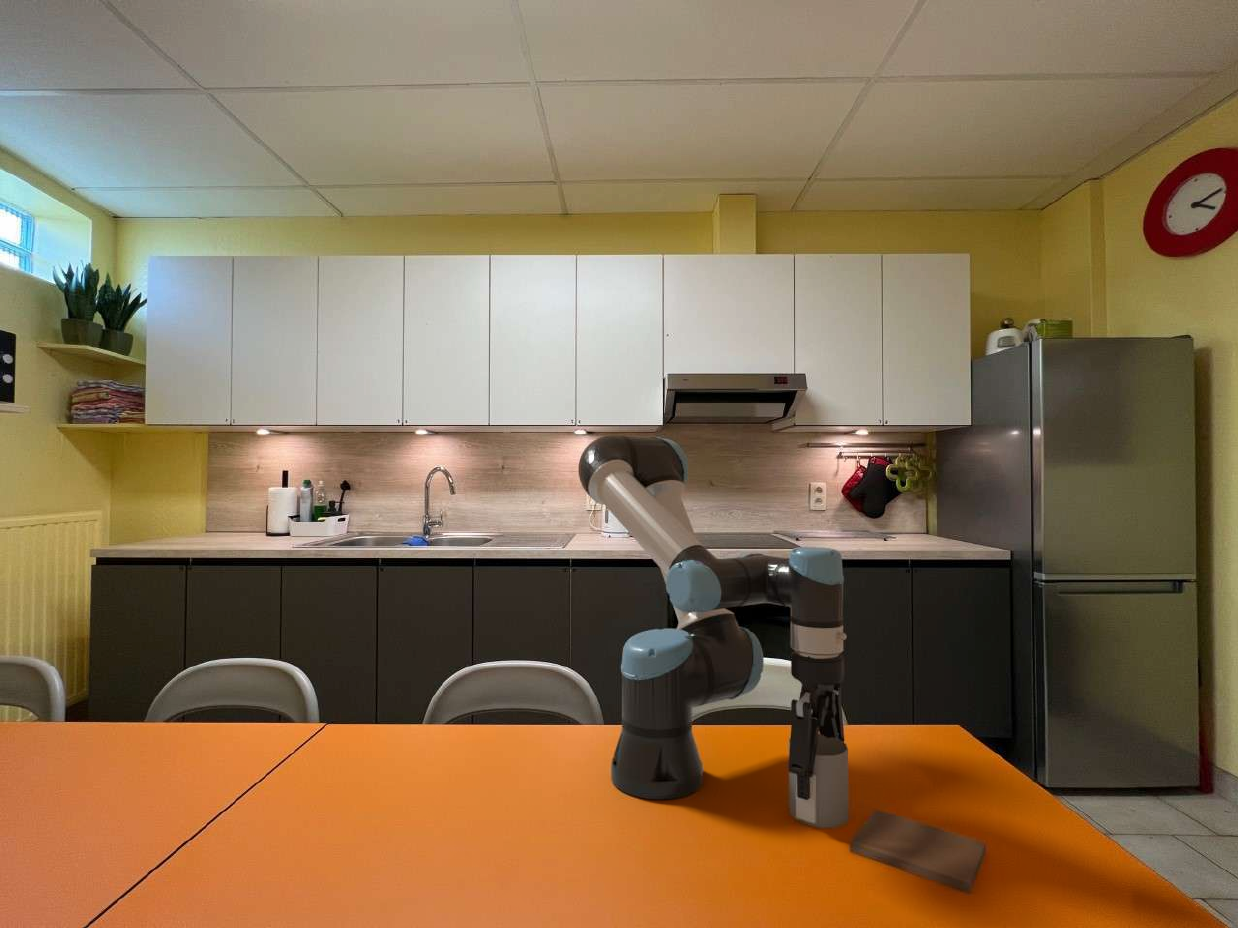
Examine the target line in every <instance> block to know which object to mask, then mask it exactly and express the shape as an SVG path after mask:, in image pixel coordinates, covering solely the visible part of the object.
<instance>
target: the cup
mask: <svg viewBox="0 0 1238 928" xmlns="http://www.w3.org/2000/svg"><path fill="white" fill-rule="evenodd" d="M789 752H790V738H788V753H789ZM813 774H816V818H817V822H816V823H815V824H814V823H811V822H808V821H805V820H802V819H799V818H796V774H794V773H791V772H789V771H788V801H789V803H788V804H789V805H788V807H789V813H790V815H792V817H793V818H794V819H795V820H797V821H799V822H800V823H803V824H805V825H808V826H811V827H815V828H821V829H830V828H831V829H836V828H838V826H839V827H842V826H844V825H846V823H847V822H848V821H849V819H850V817H849V816H850V815H849V814H850V812H849V802H850V801H849V798H850V797H849V796H850V795H849V748H848V746H847V743H845V741H844V742H842V741H841V740H839V739H837V738H833V737H831V738H826V737H825V736H824V735H821V734H820V733H819V736H818V742H817V749H816V756H815V763H814V770H813Z"/></svg>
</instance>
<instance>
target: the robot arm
mask: <svg viewBox="0 0 1238 928" xmlns="http://www.w3.org/2000/svg"><path fill="white" fill-rule="evenodd" d="M687 470H689V463H688V459H687V457H686V454H685V452H684V450H683V449H682V447H681V446H680V445H679V444H678V443H677V442H676V441H673V440H671V439H669V438H663V437H659V436H648V437H644V436H633V435H632V436H629V435H618V434H608V435H607V434H606V435H603V436H599V437H598V438H596V439H594V440H593V441H592V442H590V443H589V444H588V445H587V446H586V447H585V448H584V450H583V451H582V453H581V456H580V458H579V462H578V473H577V474H578V477H579V481H580V484H581V486H582V488H583V489H584V491H585V492H586V494H587V495H588V496H589V497H590V498H591V500H593V502H595V503H596V504H598V505H604V506H605V507H606V508H607V509H608V510H609V512H610V513H611V514H612V515H613V516H614V518H615V519H617V520H618V522H619V523H620V524H621V525H622V527H623V528H624V529H626V531H627V532H628V533H629V534H630V536H632V538H633V539H634V540H635V541H636V542H637V543H638V545H640V547H641V548H642V549H643V550H644V551H645V552H646V554H648V555H649V557H650V558H651V559H652V560H653V562H654V563H655V564H656V565H657V566H658V567H659V568H660V571H661V575H662V577H663V579H664V583H665V585H666V586H665V588H666V593H667V594H668V595H669V601H670V603H671V605H672V606H673V607H672V608H673V609H674V611H675V615H676V617H677V621H678V624H677V627H676V628H669V627H668V628H662V629H659V628H655V629H649V630H646V631H642V632H641V631H640V632H639V633H637V634H634V635H633V636H631V637H630V638H629V639H627V641H626V642H625V644H624V646H623V647H622V659H621V664H620V671H621V731H620V735H619V738H618V741H617V745H616V748H615V751H614V754H613V757H612V759H611V762H610V763H611V765H610V779H611V782H612V784H613V785H614V786H615V787H616V788H617V789H619V790H620V792H621V791H622V792H623V793H626V794H628V795H630V796H634V797H637V798H640V799H641V798H642V799H646V800H647V799H648V800H672V799H673V800H674V799H678V798H682V797H686V796H690V795H691V794H693V793H695V792H696V791H697V790H699V789H700V788H701V787H702V784H703V781H704V773H703V772H704V767H703V762H702V760H701V758H700V754H699V750H698V747H697V744H696V740H695V736H694V734H693V708H696V707H697V708H698V707H700V706H704V705H709V704H713V703H716V702H721V701H724V700H734V699H737V698H738V697H741V696H744V695H746V694H748V693H750V692H752V691H754V689H756V687H757V686H758V685H759V682H760V681H761V678H762V673H763V671H764V665H765V664H764V663H765V662H764V652H763V649H762V645H761V643H760V640H759V638H758V637H757V636H756V634H755V633H754V632H751V631H750V630H749V629H748V628H746V627H742V626H739V623H738V621H737V618H736V616H735V613H734V612H732V611H731V610H729V609H727V608H734V607H745V606H750V605H751V606H754V605H760V604H772V605H778V606H782V607H788V608H790V648H791V649H792V650H793V651H792V652H791V654H790V669H791V670H790V671H791V676H792V677H793V678H794V679H795V680H798V681H799V682H800V683H801V689H800V692H799V698H798V699H799V700H798V699H792V700H791V702H790V708H791V724H790V725H791V727H790V738H789V739H790V752H789V751H788V765H787V766H788V768H787V769H788V773H789V772H791V773H794V774H796V818H799V819H802V820H805V821H808V822H811V823H814V824H815V823H816V822H817V818H816V774H813V770H814V763H815V756H816V749H817V742H818V736H819V734H821V735H824V736H825V737H826V738H831V737H833V738H837V739H839V740H841V741H842V742H844V743H845V732H844V731H845V730H844V718H843V709H842V708H843V706H842V682H843V681H844V678H845V662H844V661H845V660H844V659H845V658H844V656H843V654H841V653H842V652H844V641H845V640H847V637H848V636H847V634H846V633H845V632H844V618H843V609H844V608H843V604H844V603H843V602H844V581H845V577H844V570H843V560H842V555H841V552H840V551H838V550H837V549H835V548H831V547H817V546H800V547H799V546H798V547H794V548H792V549H791V551H790V557H789V558H788V557H780V556H773V555H765V554H762V553H759V552H757V553H742V554H740V555H738V556H736V557H729V558H728V557H727V558H726V557H725V558H717V557H715V556H714V555H713V554H712V553H711V552H710V550H708V549H707V548H706V547H705V546H704V545H703V544H702V543H701V542H700V541H699V540H698V539H697V536H696V534H695V531H694V527H692V526H693V525H692V523H691V521H690V518H689V515H688V513H687V510H686V507H685V504H684V502H683V499H682V496H683V494H684V493H685V490H686V487H685V484H686V482H687V480H688V476H689V473H688V472H687ZM796 818H795V819H796Z"/></svg>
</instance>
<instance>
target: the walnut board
mask: <svg viewBox="0 0 1238 928" xmlns="http://www.w3.org/2000/svg"><path fill="white" fill-rule="evenodd" d="M849 847H850V848H849V849H850V850H849V851H850V852H853V853H854V854H857V855H860V856H863V857H866V858H868V859H872V860H875V861H877V862H880V863H883V864H886V865H887V866H888V865H889V866H891V867H894V868H897V869H900V870H903V871H905V872H907V873H911V874H913V875H915V876H916V875H917V876H919V877H922V878H924V879H927V880H930V881H933V882H936V883H939V884H941V885H944V886H947V887H950V888H952V889H955V890H959V891H960V892H964V893H966V894H971V891H972V889H973V886H974V884H975V882H976V878H977V876H978V874H979V870H980V868H981V866H982V864H983V861H984V857H985V855H986V852H987V851H986V850H987V849H986V848H987V847H986V842H984V841H980V840H977V839H974V838H970V837H968V836H964V835H961V834H958V833H955V832H952V831H948V830H944V829H941V828H938V827H935V826H932V825H928V824H926V823H922V822H919V821H915V820H913V819H909V818H906V817H903V816H900V815H896V814H893V813H890V812H886V811H884V810H880V809H874V810H873V811H872V813H871V815H869V817H868V818H867V819H866V821H865V822H864V823H863V824H862V825H861V827H860V828H859V830H858V831H857V832H856V833H855V835H854V836H853V837H852V839H851V840H850V845H849Z"/></svg>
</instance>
